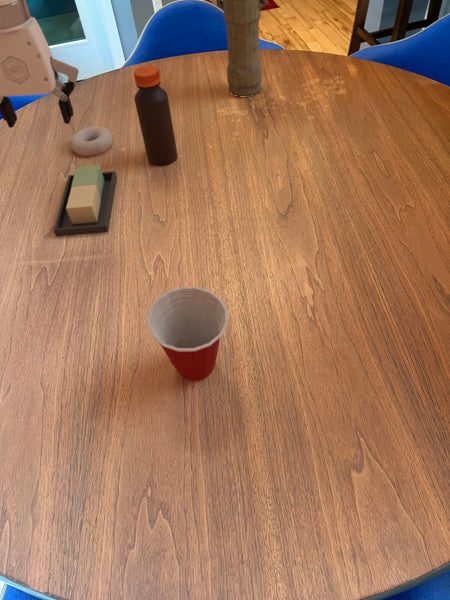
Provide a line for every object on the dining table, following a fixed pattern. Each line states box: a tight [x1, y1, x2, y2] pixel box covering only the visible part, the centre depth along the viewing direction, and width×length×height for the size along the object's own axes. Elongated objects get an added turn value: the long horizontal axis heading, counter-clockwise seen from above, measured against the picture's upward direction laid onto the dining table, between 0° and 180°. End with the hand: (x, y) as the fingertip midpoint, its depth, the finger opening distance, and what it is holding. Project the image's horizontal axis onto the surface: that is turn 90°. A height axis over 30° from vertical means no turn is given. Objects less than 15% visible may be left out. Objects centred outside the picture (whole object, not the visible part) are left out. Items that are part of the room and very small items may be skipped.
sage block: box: [71, 164, 104, 198], centre depth 100 cm, size 5×7×4 cm
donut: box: [69, 125, 114, 157], centre depth 113 cm, size 10×4×10 cm
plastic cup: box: [146, 286, 229, 382], centre depth 67 cm, size 11×11×12 cm
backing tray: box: [53, 170, 118, 237], centre depth 98 cm, size 10×18×2 cm, turn 3°
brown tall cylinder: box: [216, 0, 267, 97], centre depth 115 cm, size 9×12×35 cm
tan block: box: [66, 185, 101, 224], centre depth 96 cm, size 5×7×4 cm
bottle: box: [133, 65, 178, 167], centre depth 101 cm, size 7×7×20 cm
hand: (41, 121), depth 83 cm, fingers open, 9 cm apart
